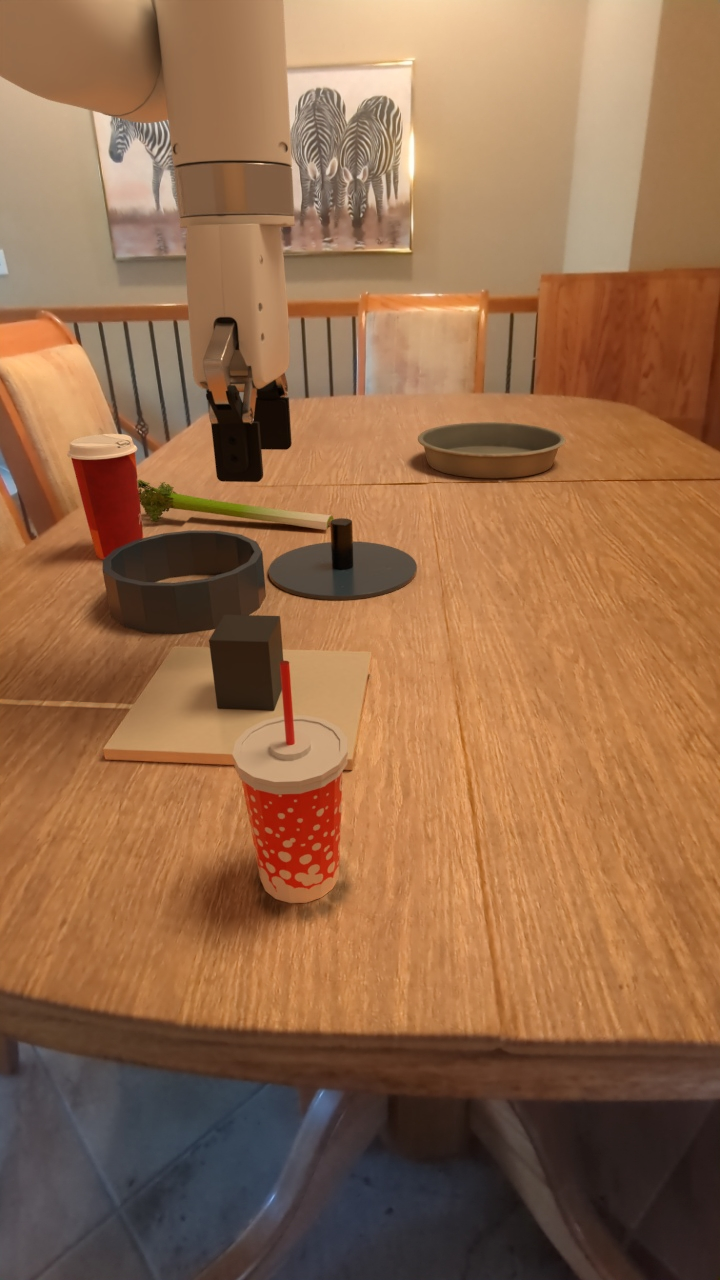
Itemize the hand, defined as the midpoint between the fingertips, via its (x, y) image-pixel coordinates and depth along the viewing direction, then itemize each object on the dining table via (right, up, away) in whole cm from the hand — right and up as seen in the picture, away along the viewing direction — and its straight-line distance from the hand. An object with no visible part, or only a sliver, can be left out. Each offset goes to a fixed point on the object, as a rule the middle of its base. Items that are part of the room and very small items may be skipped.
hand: (257, 463), depth 57 cm
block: (-1, -18, +3) cm, 18 cm away
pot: (-10, -10, +22) cm, 26 cm away
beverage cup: (+4, -27, -13) cm, 30 cm away
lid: (+6, -5, +28) cm, 29 cm away
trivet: (-1, -19, +4) cm, 19 cm away
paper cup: (-22, -3, +35) cm, 41 cm away
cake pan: (+30, +17, +72) cm, 80 cm away
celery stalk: (-10, +2, +45) cm, 46 cm away
